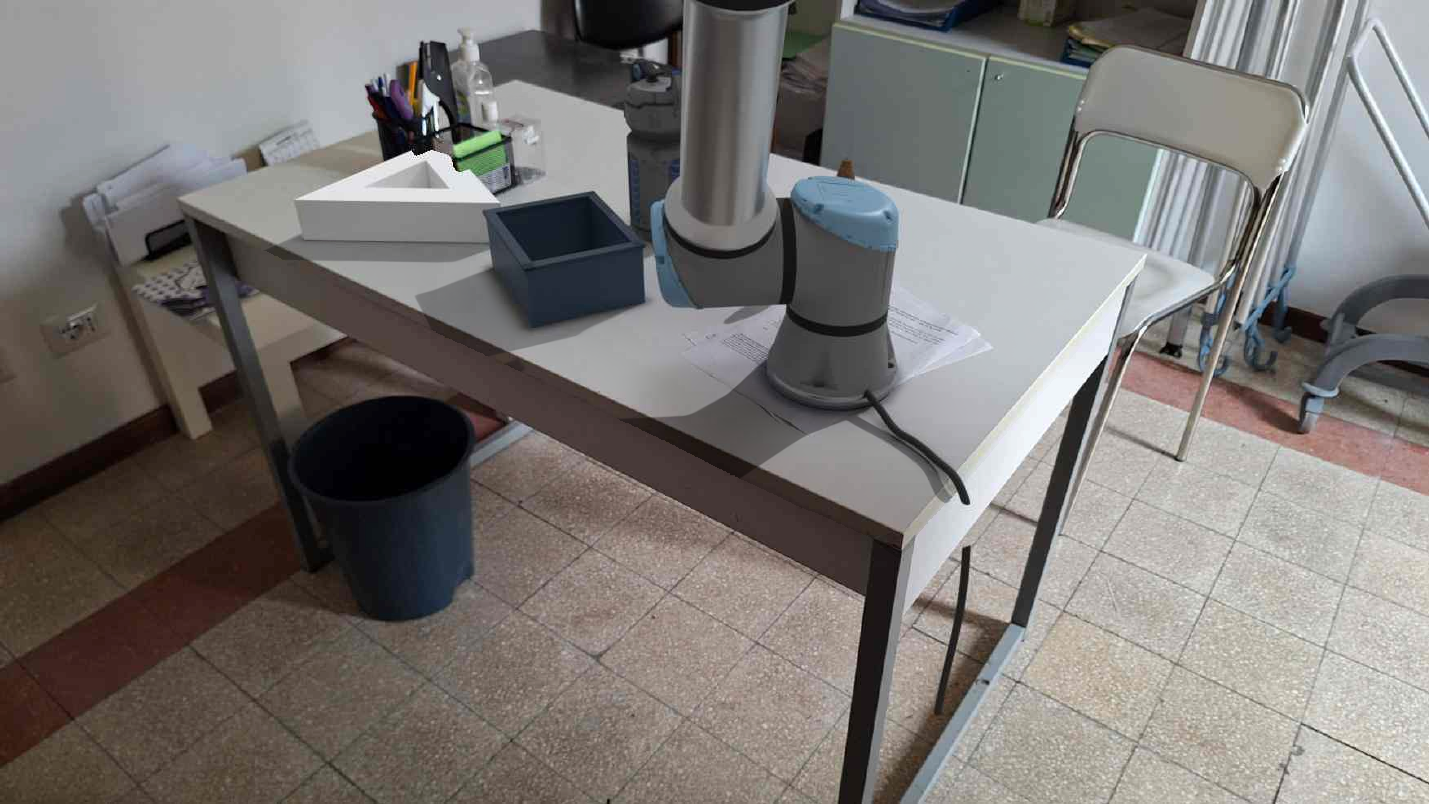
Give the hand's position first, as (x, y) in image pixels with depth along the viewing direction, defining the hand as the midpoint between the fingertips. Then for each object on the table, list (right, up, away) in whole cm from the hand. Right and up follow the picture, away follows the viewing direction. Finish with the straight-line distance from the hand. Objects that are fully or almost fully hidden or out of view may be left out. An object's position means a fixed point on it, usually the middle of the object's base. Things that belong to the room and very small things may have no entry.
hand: (747, 30), depth 125 cm
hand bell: (+13, -27, +17) cm, 35 cm away
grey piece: (-12, -20, +26) cm, 36 cm away
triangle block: (-46, -20, +27) cm, 57 cm away
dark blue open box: (-25, -31, +11) cm, 41 cm away
